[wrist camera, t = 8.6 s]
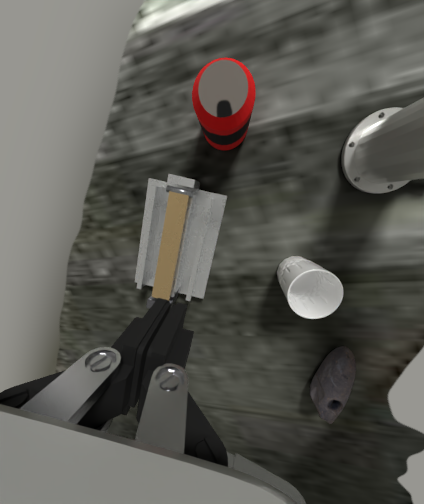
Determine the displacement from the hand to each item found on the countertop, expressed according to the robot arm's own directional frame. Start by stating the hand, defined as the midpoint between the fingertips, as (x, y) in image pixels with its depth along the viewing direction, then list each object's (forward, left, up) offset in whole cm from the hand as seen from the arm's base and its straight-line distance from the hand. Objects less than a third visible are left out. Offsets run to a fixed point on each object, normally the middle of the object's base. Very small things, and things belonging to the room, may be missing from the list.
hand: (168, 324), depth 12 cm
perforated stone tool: (-30, +22, -29) cm, 47 cm away
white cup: (-17, +3, -29) cm, 34 cm away
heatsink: (+6, +2, -29) cm, 30 cm away
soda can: (+2, -19, -29) cm, 35 cm away
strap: (+6, +2, -22) cm, 23 cm away
